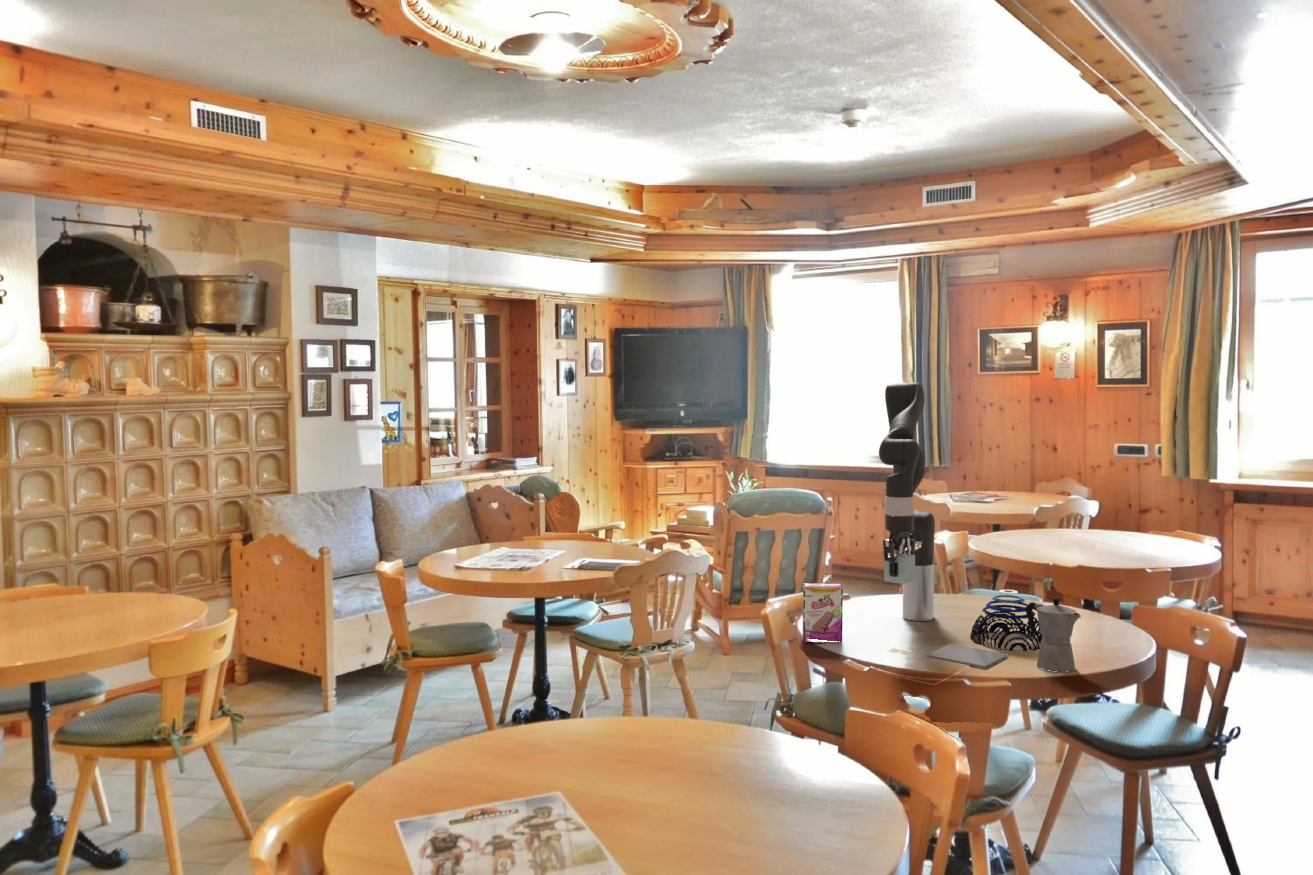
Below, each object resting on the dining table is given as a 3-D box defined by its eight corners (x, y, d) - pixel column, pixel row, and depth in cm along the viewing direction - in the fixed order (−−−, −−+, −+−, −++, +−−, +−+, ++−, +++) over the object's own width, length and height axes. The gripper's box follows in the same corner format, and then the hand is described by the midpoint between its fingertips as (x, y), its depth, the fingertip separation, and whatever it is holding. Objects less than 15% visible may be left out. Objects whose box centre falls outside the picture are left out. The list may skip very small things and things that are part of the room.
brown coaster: (889, 642, 267) (889, 641, 267) (935, 651, 258) (935, 649, 258) (863, 653, 257) (863, 651, 257) (911, 662, 247) (911, 661, 247)
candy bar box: (803, 643, 267) (802, 586, 266) (802, 639, 272) (801, 582, 271) (843, 644, 266) (843, 586, 265) (841, 639, 271) (841, 583, 270)
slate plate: (950, 646, 262) (950, 643, 262) (1007, 656, 251) (1007, 653, 251) (927, 657, 252) (927, 654, 252) (985, 668, 241) (985, 665, 241)
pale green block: (895, 577, 260) (895, 552, 260) (915, 580, 256) (915, 554, 256) (884, 581, 256) (884, 555, 256) (904, 584, 252) (904, 558, 252)
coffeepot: (1090, 670, 239) (1091, 599, 238) (1068, 677, 233) (1069, 605, 232) (1036, 656, 251) (1036, 589, 250) (1014, 662, 246) (1014, 594, 245)
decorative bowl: (1034, 632, 276) (1034, 584, 275) (1056, 651, 256) (1057, 599, 255) (964, 632, 278) (964, 583, 277) (980, 651, 258) (981, 598, 257)
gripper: (899, 508, 263) (899, 568, 264) (873, 514, 252) (873, 576, 253) (924, 511, 258) (924, 571, 259) (899, 517, 247) (899, 580, 248)
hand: (899, 574), depth 256 cm, fingers closed on pale green block, 6 cm apart
